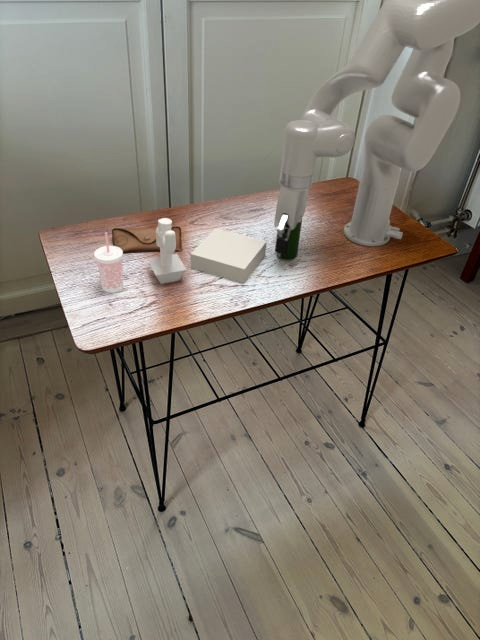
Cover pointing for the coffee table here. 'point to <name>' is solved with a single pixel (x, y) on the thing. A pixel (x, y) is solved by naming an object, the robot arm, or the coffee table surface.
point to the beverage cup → (110, 266)
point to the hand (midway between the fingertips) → (287, 244)
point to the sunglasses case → (141, 239)
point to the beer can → (292, 243)
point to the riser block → (228, 255)
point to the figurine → (166, 254)
